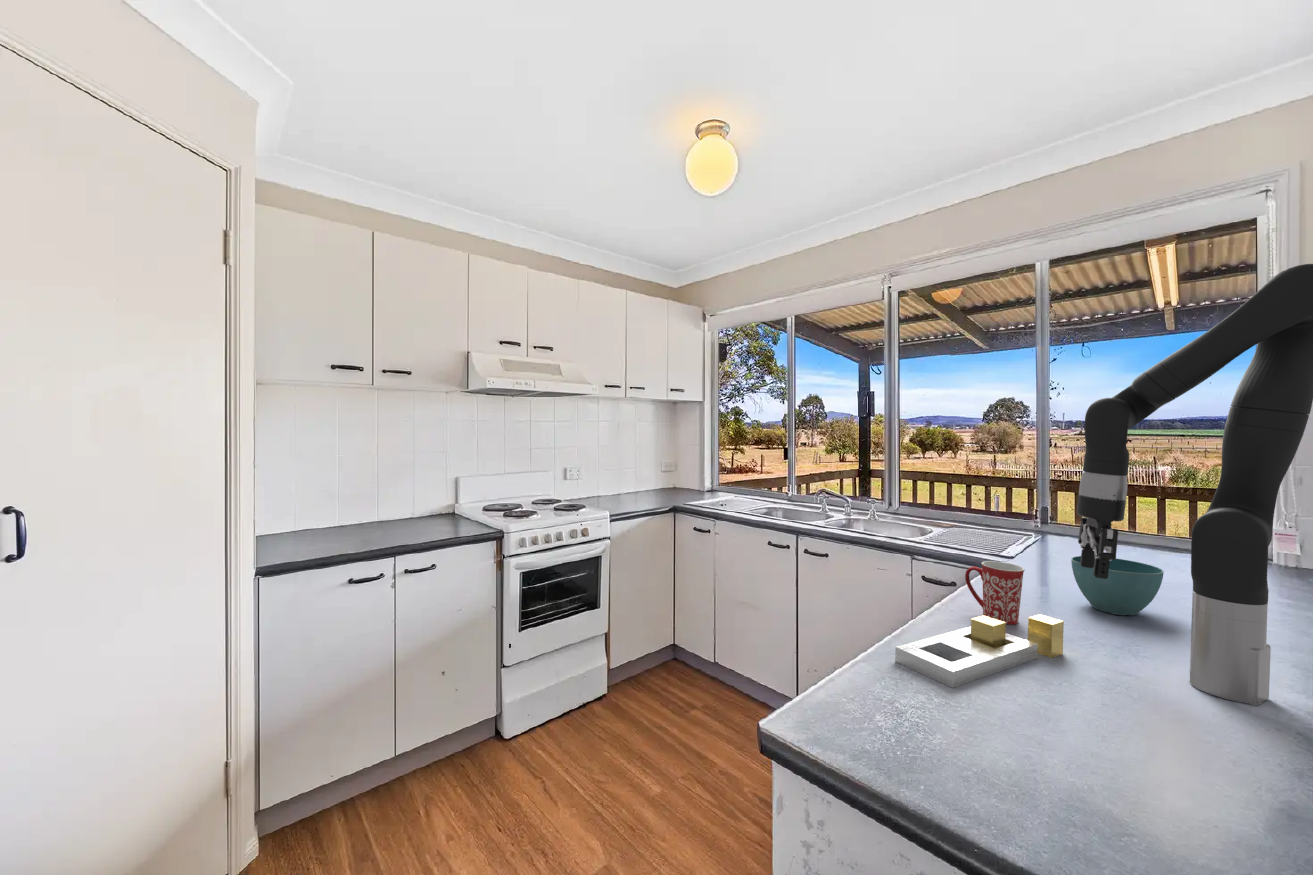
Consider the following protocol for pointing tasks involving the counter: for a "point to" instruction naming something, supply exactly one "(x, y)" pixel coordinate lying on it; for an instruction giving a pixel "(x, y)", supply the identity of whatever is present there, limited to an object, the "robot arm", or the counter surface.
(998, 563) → the mug
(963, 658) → the white socket board
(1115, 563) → the teal bowl
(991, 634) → the seated brass block
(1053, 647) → the brass block
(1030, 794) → the counter surface
